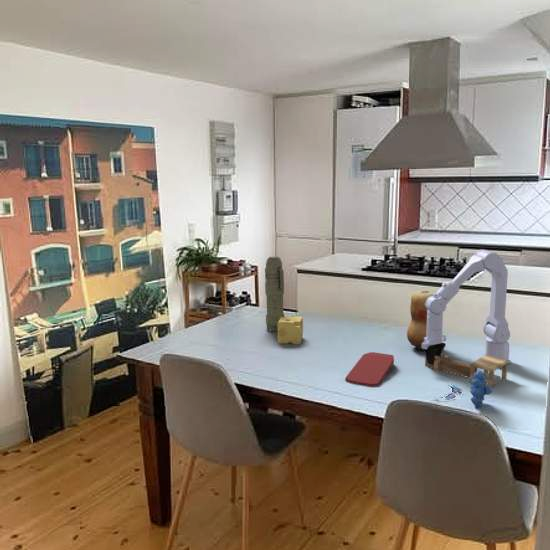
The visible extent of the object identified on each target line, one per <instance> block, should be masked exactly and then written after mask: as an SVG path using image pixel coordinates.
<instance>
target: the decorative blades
mask: <svg viewBox="0 0 550 550" xmlns="http://www.w3.org/2000/svg"><path fill="white" fill-rule="evenodd" d="M450 383H451V385H452V384H453V385H452V386H453V387H452V386H450V385H449V384H447V385H448V386H450V387H451V388H452V392H454V393H452V394H449V395H448V396H446V397H445V396H443V397H445V398H446V399H445V400H450V399H453V398H455V397H456V396H455V395H456V394H455V393H457V392H458V393H460V394H461V393H462V392H461V391H462V389H461V388H460V387H459V386H458V385H457V384H454V383H452V382H450ZM457 386H458V387H457ZM460 390H461V391H460ZM443 397H441V396H440V398H443ZM434 401H439V400H438V399H434Z"/></svg>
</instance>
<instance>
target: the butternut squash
mask: <svg viewBox="0 0 550 550" xmlns="http://www.w3.org/2000/svg"><path fill="white" fill-rule="evenodd" d="M436 292H437V291H436ZM436 292H435V291H434V290H430V289H419V290H418V291H415V292H414V293H412V295H411V298H410V305H409V308H410V315H411V319H410V323H409V325H408V328H407V331H406V337H407V341H408V342H409V343H410V345H411V346H414V347H415V348H417V349H418V350H422V351H424V350H423V348H422V343H423V342H424V341H425V340H424V338H425V337H426V335H427V308H426V307H425V303H426V300H427V299H428V298H429V297H432V296H434V295H433V294H434V293H436Z"/></svg>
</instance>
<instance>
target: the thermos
mask: <svg viewBox="0 0 550 550" xmlns="http://www.w3.org/2000/svg"><path fill="white" fill-rule="evenodd" d="M284 274H285V273H284V269H283V262H282V259H281V258H280V257H279V256H269V257H267V259H266V263H265V268H264V275H265V283H264V288H265V292H264V293H265V295H266V315H265V324H266V330H267V329H268V330H271V331H270V332H272V331H278V321H279V320H280V317H286V316H285V313H284V294H285V288H284V287H285V283H284V276H285V275H284ZM268 330H267V331H268Z"/></svg>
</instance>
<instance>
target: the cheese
mask: <svg viewBox="0 0 550 550" xmlns="http://www.w3.org/2000/svg"><path fill="white" fill-rule="evenodd" d="M303 322H304V321H303V316H285V317H280V320H279V321H278V332H277V343H278V344H292V343H293V345H301V343H302V339H303V333H304V323H303Z"/></svg>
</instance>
